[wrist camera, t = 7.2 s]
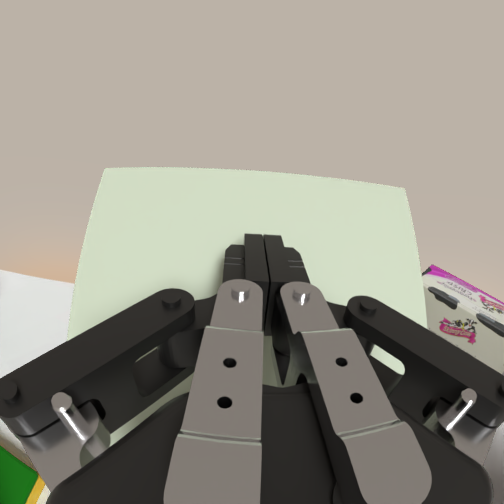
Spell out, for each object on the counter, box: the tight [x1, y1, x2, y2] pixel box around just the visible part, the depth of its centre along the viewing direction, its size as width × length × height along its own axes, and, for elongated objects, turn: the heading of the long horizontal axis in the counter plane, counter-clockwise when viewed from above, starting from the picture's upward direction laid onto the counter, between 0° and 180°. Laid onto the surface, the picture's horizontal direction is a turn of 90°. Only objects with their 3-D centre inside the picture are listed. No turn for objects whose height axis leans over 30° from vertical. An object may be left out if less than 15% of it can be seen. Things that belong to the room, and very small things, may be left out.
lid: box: [67, 167, 427, 446], centre depth 12 cm, size 17×17×1 cm
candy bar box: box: [422, 265, 504, 374], centre depth 22 cm, size 11×5×16 cm, turn 38°
